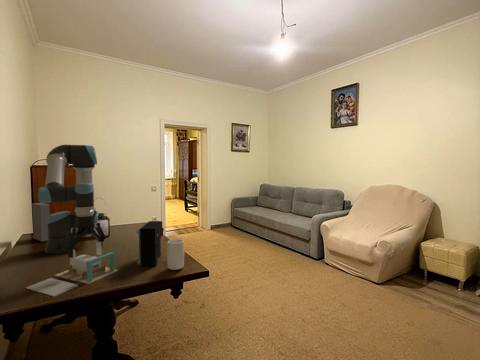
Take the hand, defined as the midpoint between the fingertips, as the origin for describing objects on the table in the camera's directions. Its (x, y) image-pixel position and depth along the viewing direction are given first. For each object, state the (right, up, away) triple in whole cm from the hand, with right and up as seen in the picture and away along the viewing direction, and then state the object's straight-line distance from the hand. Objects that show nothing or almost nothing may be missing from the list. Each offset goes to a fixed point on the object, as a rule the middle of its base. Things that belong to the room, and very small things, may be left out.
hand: (86, 259), depth 124 cm
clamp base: (0, -7, +1) cm, 7 cm away
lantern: (-29, -3, +66) cm, 73 cm away
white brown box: (0, -7, +1) cm, 7 cm away
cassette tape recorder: (-65, -4, +57) cm, 86 cm away
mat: (-6, -8, -14) cm, 17 cm away
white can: (+41, -7, +7) cm, 42 cm away
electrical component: (+25, -6, +17) cm, 31 cm away
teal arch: (+9, -7, -3) cm, 12 cm away
